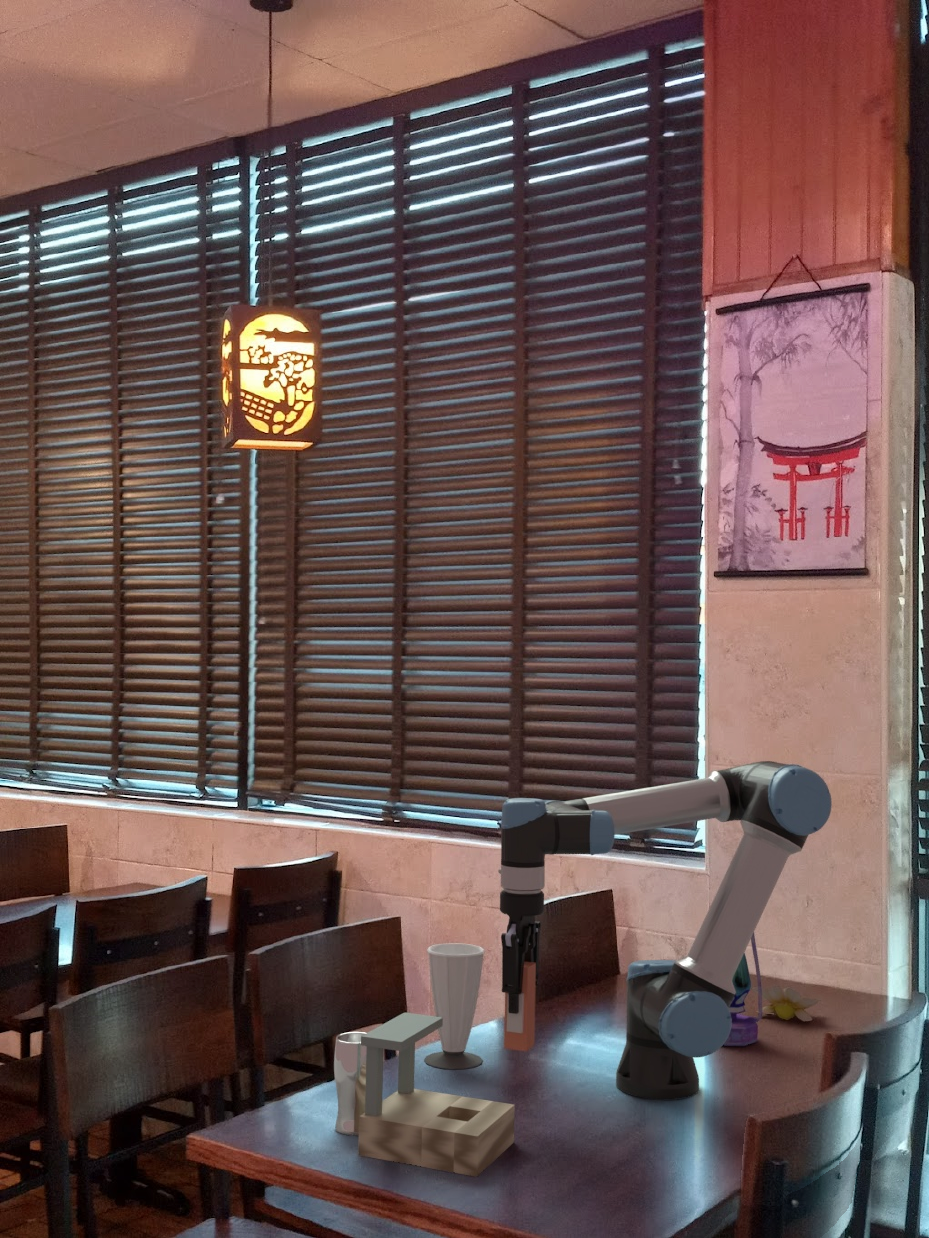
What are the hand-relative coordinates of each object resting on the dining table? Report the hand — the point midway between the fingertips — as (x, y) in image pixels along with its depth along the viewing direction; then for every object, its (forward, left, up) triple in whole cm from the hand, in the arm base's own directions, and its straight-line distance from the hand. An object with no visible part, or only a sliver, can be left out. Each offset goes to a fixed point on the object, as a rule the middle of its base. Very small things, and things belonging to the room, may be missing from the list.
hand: (519, 1027), depth 223 cm
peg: (0, 0, -3) cm, 3 cm away
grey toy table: (+14, +18, -9) cm, 24 cm away
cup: (+23, -26, -16) cm, 38 cm away
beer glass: (+23, +16, -16) cm, 32 cm away
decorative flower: (-32, -89, -16) cm, 96 cm away
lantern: (-23, -65, -16) cm, 71 cm away
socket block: (+7, +18, -15) cm, 25 cm away
